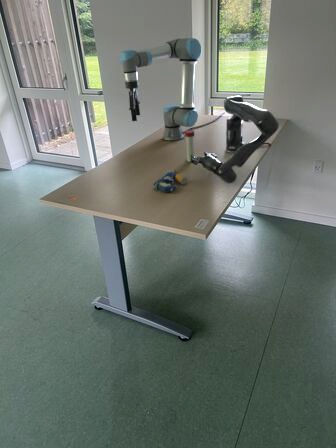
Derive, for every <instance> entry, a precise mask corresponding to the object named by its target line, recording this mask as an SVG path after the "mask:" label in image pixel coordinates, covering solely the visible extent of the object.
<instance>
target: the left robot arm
mask: <svg viewBox="0 0 336 448" xmlns="http://www.w3.org/2000/svg"><path fill="white" fill-rule="evenodd" d="M202 52H203V49H202V44H201V42H200V40H199V39H197V38H194V37H185V38H184V37H183V38H175V39H172V40H169V41H164V42H162V44H160V45H154V46H151V47H146V48H141V49H136V50H134V49H127V50H122V51H121V53H120V54H119V56H118V57H119V58H118V60H119V63H120V65H121V66H122V69H123V74H122V76H123V77H124V81H125V82H124V84H125V89H127V90H128V99H129V100H128V101H129V102H128V103H129V108H128V109H129V111H130V115H131V122H138V117H137V116H141V110H140V104H141V102H140V99H139V94H138V88H139V87H140V84H139V80H138V79H139V76H138V68H144V67H148V66H151V65H153V62H154V61H156V60H161V59H164V60H168V59H177V60H178V59H179V60H178V61H179V64H181V70H180V71H181V74H180V99H179V100H180V101H179V102H180V103H179V104H171V105H166V106H165V107H163V113H162V114H163V123H164V130H163V135H162V139H163V140H164V141H167V142H176V141H180V140H182V139H184V137H185V131H188V130H194V129H198V128H201V127H204V126H207V125H209V124H212V123H213V122H215V121H217V120H218V119H219V118H220V117H221V116H223V115H225V113H226V111H225V112H222V113H221V114H220V115H218V116H217V117H216V118H215V119H213V120H211V121H209V122H206V123H203V124H201V125H198V126H195V125H196V123H197V122H198V119H199V113H198V111H197V110H196V105H194V90H195V89H194V87H195V69H196V67H195V66H196V64H197V63H198V59H200V58H201V56H202ZM182 127H185V128H188V129H186V130H184V131H183V129H182Z"/></svg>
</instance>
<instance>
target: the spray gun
mask: <svg viewBox="0 0 336 448" xmlns="http://www.w3.org/2000/svg"><path fill="white" fill-rule="evenodd" d="M175 181H176V182H177V183H179V184H180V185H185V184H186V183H187V182H188V178H187V177H186V176H185V175H183V174H181V173H177V171H176V170H173V171H169V170H166V171H165V173H164V174H162V175H161V177H159V178H158V179H157V180H156V181H154V183H153V186H152V188H153V189H155V190H157V191H158V190H160V191H162V192H164V193H170V192H174V191H175V190H176V189H177V184H175V183H174V182H175Z"/></svg>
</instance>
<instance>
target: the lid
mask: <svg viewBox="0 0 336 448" xmlns="http://www.w3.org/2000/svg"><path fill="white" fill-rule="evenodd" d="M187 130H188V129H187ZM184 131H185V133H184V137H185V138H186V137H192V136H194V137H195V130H194V129H191V130H188V131H186V130H184Z"/></svg>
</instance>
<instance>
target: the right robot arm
mask: <svg viewBox="0 0 336 448" xmlns="http://www.w3.org/2000/svg"><path fill="white" fill-rule="evenodd" d="M222 105H223V110H224V111H225V113H227V114H229V115H231V116H229V117H228V118H227V119H226V123H225V124H226V125H225V127H226V129H225V130H226V131H225V134H226V136H225V145H226V146H225V151H226V152H227V153H231V154H233V155H232V156H231V157H229V159H227V160H226V161H225V162H222V161H221V160H219V159H218V155H216V154H215V153H214V152H211V153H209V152H207V151H204V152H203V154H204V156H202V155H201V156H198V155H197V156H195V155H194V156H193V155H191V162H190V163H191V164H193V165H195V166H198V164H200V165H201V166H202V167H203V168H204V169H206V170H207V171H209V172H211V173H212V174H214V175H215V176H217V177H219V178H220V179H221V180H222V181H223V182H224V183H226V184H233V183H234V182H236V181H237V178H238V175H237V172H236V171H235V170H234V169H233V167H237V168H239V169H240V168H242V167H243V166H245V164H246V162H247V161H248V160H249V159H250V158H251V156H252V155H253V154H254V153H255V152H256V151H257V150H258V149H259V148H260V147H261V146H264V145H269V146H271V145H272V144H271V143H270V142H267V141H268V140H269V139H270V138H272V136H273V135H274V134H275V133H276V132H277V131H278V130H279V127H280V122H279V120H278V119H277V118H276V117H275V116H274V114H273V113H272V112H271V111H269V110H267V109H263V108H259V107H258V106H255V105H254V104H252V103H248V102H244V99H243V97H242V96H241V95H235V96H228V97H226V98H225V99H224V100H223V104H222ZM242 121H243V122H245V123H253V125H254V126H255V127H256V128H257V130H259V132H261V133H260V135H259V136H257V138H254V139H253V140H252V141H249V142H246V143H245V142H244V141H243V135H242V125H243V122H242Z"/></svg>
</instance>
